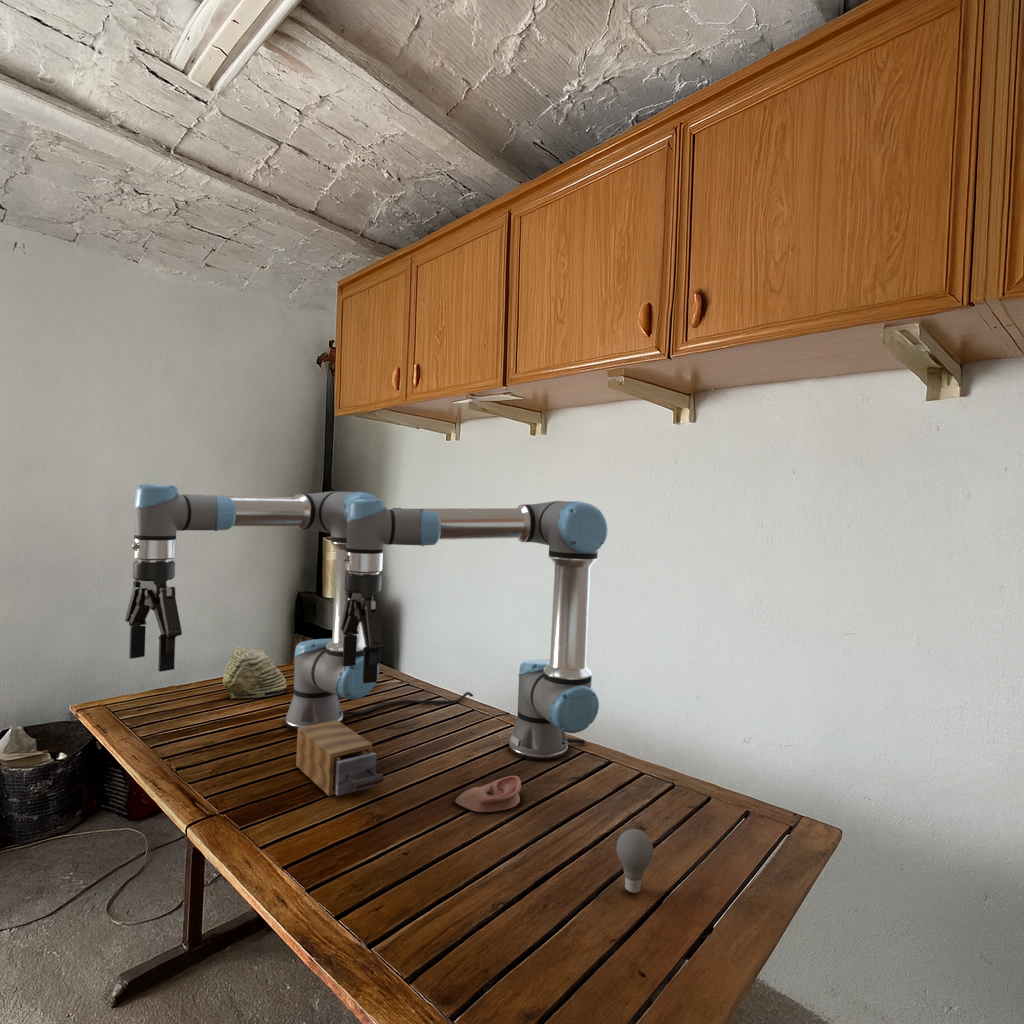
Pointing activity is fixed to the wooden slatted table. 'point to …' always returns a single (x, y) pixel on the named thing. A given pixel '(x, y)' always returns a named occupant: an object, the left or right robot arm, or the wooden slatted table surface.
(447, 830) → the wooden slatted table surface
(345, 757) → the drawer
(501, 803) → the anatomical model
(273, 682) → the fossil
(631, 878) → the light bulb
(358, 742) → the cabinet
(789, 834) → the wooden slatted table surface
